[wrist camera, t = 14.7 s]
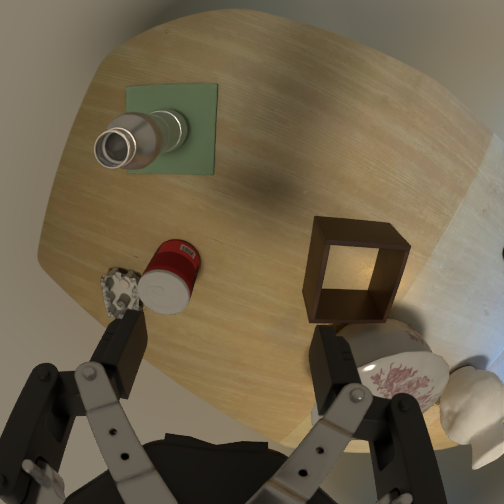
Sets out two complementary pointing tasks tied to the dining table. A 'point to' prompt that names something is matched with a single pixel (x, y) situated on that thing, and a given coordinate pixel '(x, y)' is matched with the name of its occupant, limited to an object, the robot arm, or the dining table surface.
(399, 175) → the dining table surface
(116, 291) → the egg carton
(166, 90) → the mat
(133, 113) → the plastic bottle
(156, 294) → the canned food
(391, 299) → the crate
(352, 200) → the dining table surface
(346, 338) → the chamber pot
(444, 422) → the vase
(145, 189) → the dining table surface
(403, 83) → the dining table surface
